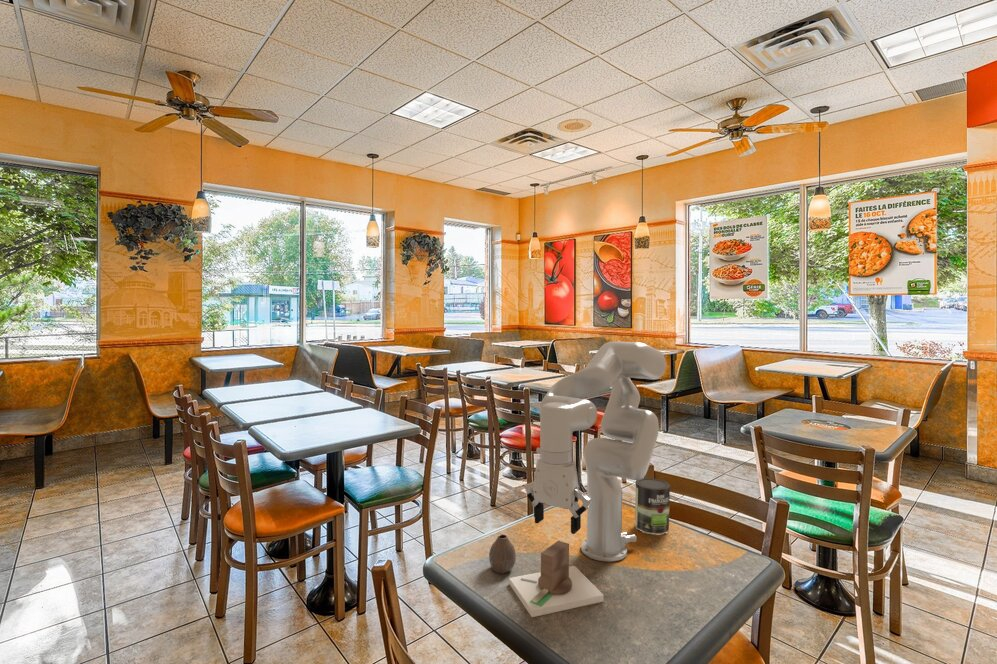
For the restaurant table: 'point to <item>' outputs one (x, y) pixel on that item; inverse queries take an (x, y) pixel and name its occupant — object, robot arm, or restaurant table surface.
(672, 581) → the restaurant table surface
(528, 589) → the dial board
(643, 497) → the coffee can
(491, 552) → the vase
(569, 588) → the dial knob
